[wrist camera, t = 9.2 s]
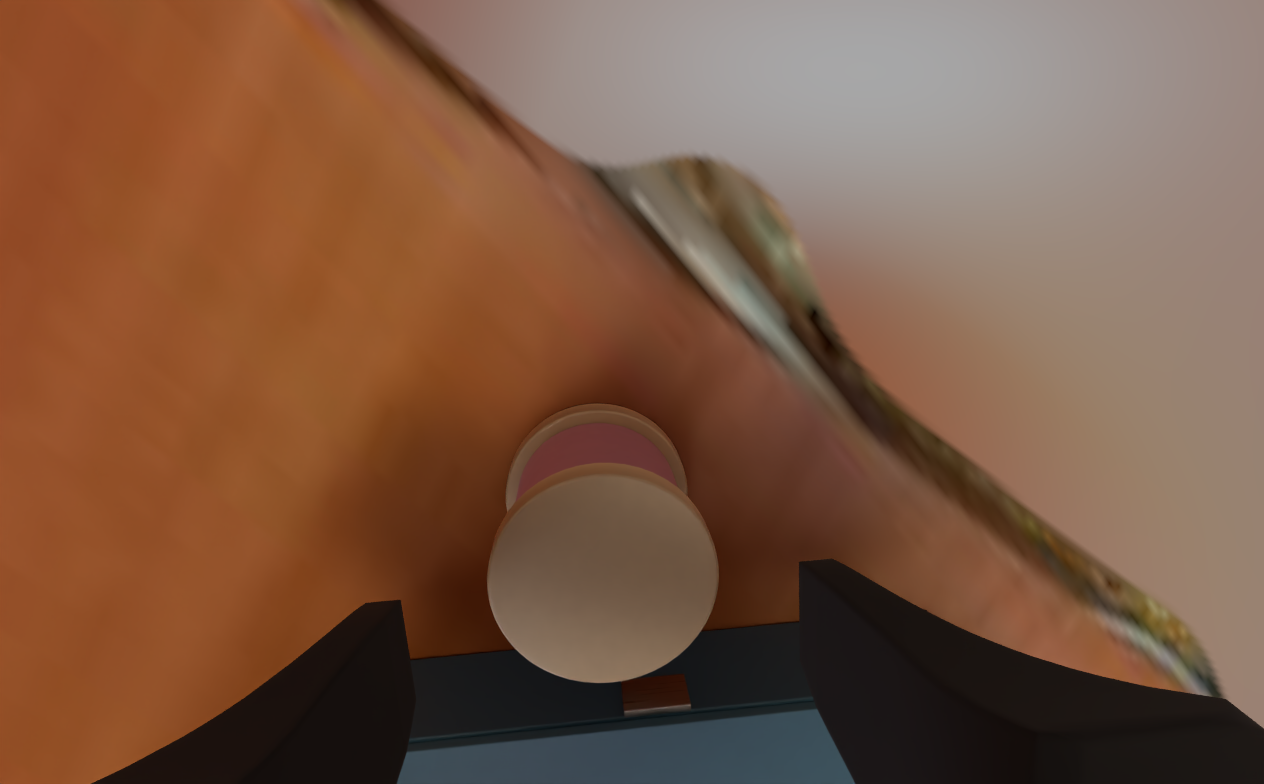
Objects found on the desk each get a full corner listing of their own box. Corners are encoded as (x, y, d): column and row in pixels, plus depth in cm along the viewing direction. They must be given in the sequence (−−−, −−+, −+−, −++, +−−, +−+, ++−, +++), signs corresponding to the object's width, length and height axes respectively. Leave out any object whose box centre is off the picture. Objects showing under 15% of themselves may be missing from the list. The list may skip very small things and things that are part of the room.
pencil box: (926, 604, 21) (992, 681, 18) (917, 783, 23) (977, 885, 20) (351, 660, 21) (308, 752, 17) (385, 843, 22) (351, 960, 19)
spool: (687, 559, 21) (723, 672, 16) (517, 574, 20) (499, 695, 15) (680, 395, 19) (716, 464, 15) (498, 410, 19) (473, 485, 14)
